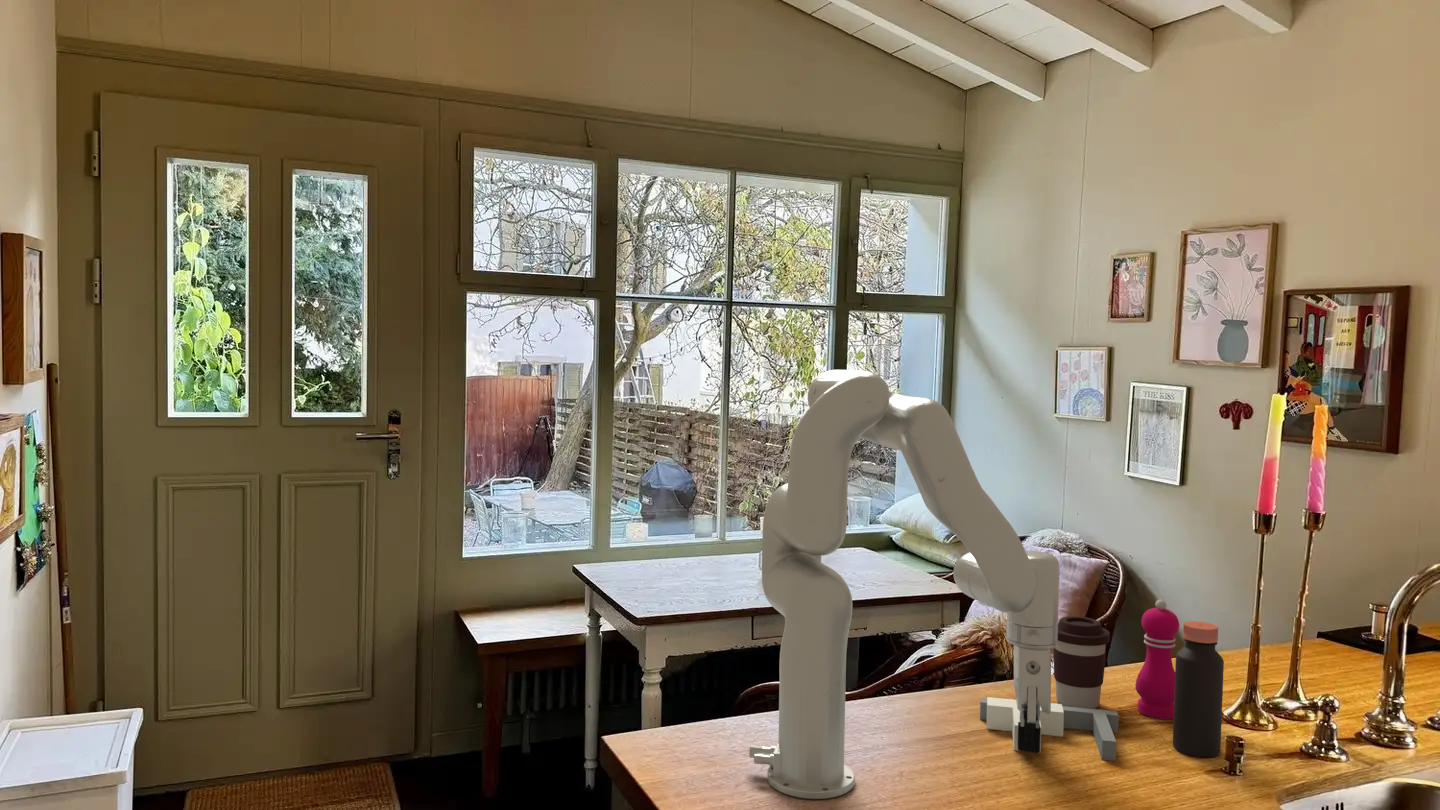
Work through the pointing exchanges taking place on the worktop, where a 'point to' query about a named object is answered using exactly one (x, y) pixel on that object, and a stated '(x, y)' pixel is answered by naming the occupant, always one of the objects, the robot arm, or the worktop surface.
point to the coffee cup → (1080, 661)
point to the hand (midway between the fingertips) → (1028, 749)
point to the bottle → (1198, 692)
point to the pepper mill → (1158, 663)
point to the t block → (1007, 717)
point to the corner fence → (1086, 725)
